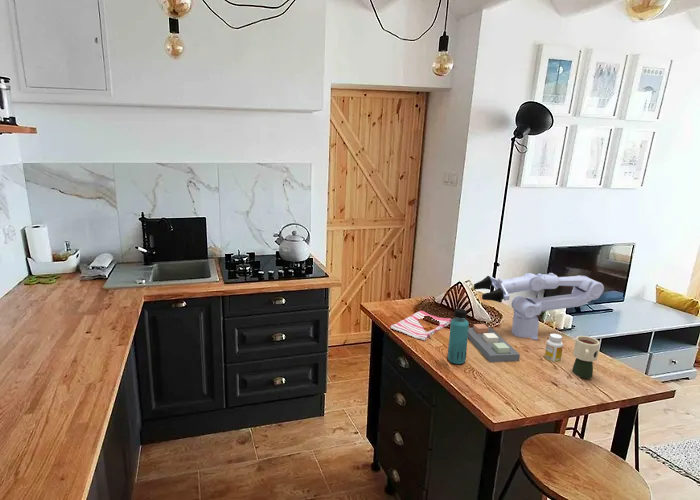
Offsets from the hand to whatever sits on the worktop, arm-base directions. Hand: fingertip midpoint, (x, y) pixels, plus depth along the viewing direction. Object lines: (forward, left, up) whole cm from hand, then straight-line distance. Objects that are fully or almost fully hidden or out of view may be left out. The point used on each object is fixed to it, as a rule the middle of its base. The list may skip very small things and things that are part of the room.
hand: (478, 291), depth 174 cm
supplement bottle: (-21, +21, -20) cm, 36 cm away
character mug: (-25, +32, -20) cm, 45 cm away
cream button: (-2, +10, -17) cm, 20 cm away
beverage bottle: (+15, +20, -20) cm, 32 cm away
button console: (-2, +10, -19) cm, 22 cm away
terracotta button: (-2, +1, -17) cm, 17 cm away
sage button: (-2, +18, -17) cm, 25 cm away
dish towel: (+18, -12, -20) cm, 30 cm away
